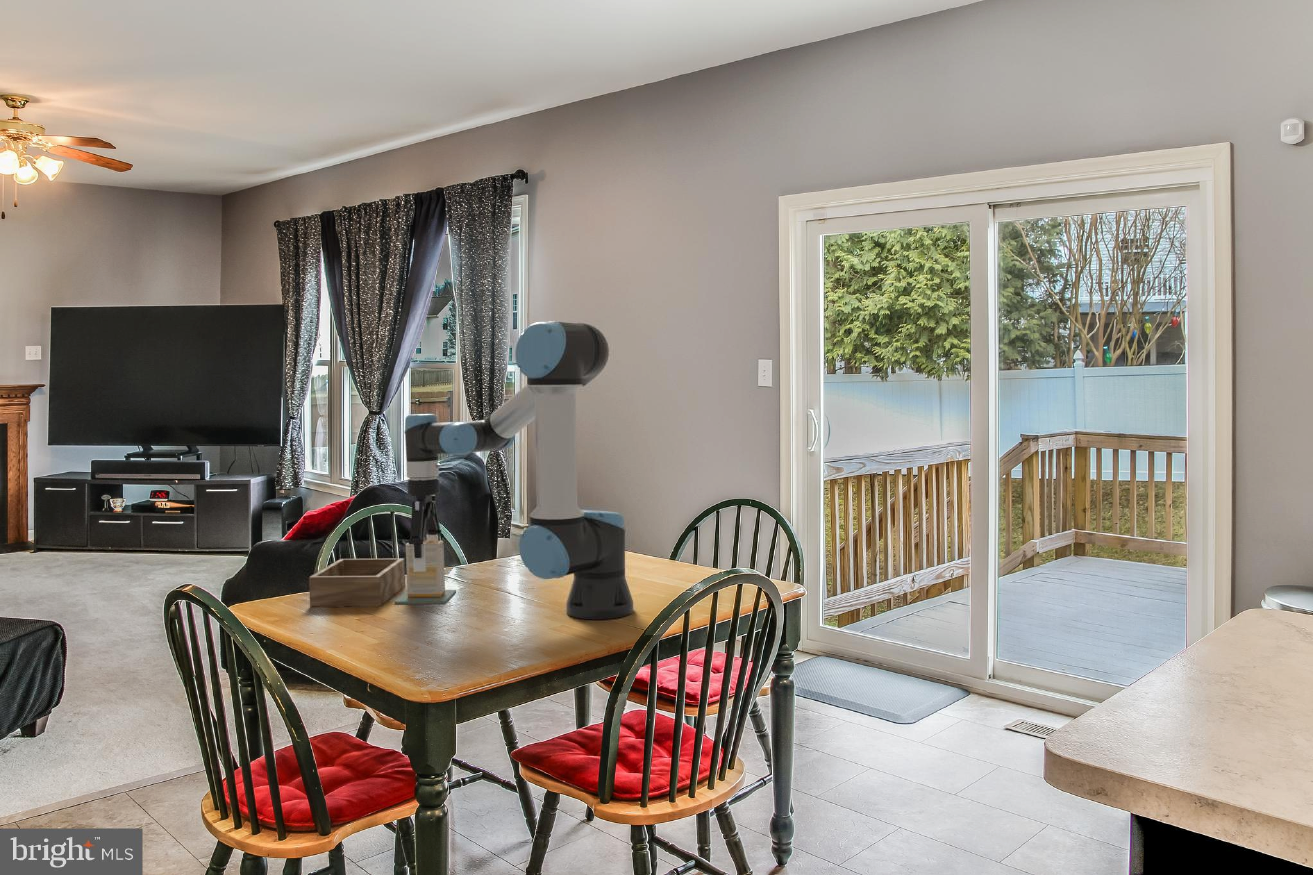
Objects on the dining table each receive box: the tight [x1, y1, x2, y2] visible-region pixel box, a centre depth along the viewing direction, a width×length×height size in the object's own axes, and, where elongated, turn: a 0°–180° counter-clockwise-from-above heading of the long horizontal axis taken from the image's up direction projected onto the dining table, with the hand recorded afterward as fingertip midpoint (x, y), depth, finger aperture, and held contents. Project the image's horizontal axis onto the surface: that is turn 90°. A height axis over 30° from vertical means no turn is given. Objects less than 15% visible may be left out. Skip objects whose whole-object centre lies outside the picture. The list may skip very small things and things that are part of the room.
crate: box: [308, 557, 406, 608], centre depth 237 cm, size 22×16×7 cm
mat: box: [394, 589, 457, 605], centre depth 234 cm, size 12×12×1 cm
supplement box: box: [405, 540, 446, 597], centre depth 234 cm, size 8×5×13 cm, turn 87°
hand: (426, 566), depth 233 cm, fingers open, 13 cm apart
